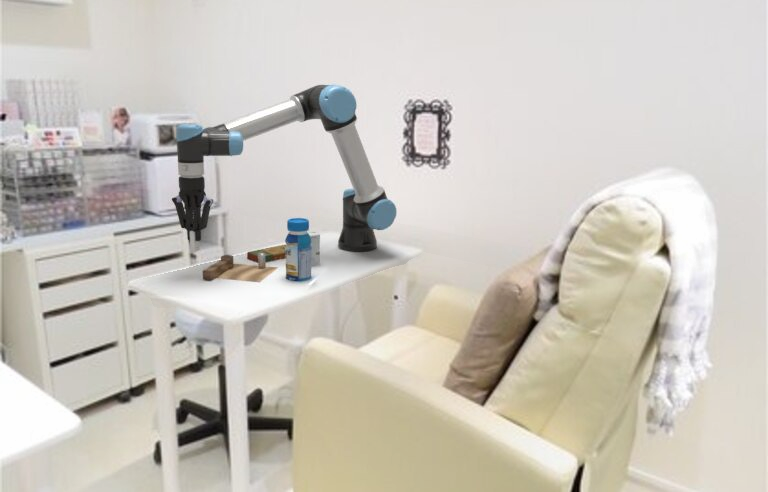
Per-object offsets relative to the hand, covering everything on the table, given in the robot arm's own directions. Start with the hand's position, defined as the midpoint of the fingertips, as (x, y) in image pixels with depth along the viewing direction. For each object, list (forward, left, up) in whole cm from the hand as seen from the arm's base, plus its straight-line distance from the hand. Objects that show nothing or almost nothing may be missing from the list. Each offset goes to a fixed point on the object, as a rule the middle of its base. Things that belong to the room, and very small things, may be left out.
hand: (194, 250), depth 185 cm
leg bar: (-6, -4, -8) cm, 11 cm away
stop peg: (-17, -13, -8) cm, 23 cm away
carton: (-15, -26, -10) cm, 32 cm away
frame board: (-13, -7, -9) cm, 17 cm away
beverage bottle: (-32, -7, -10) cm, 34 cm away
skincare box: (-31, -21, -10) cm, 39 cm away
